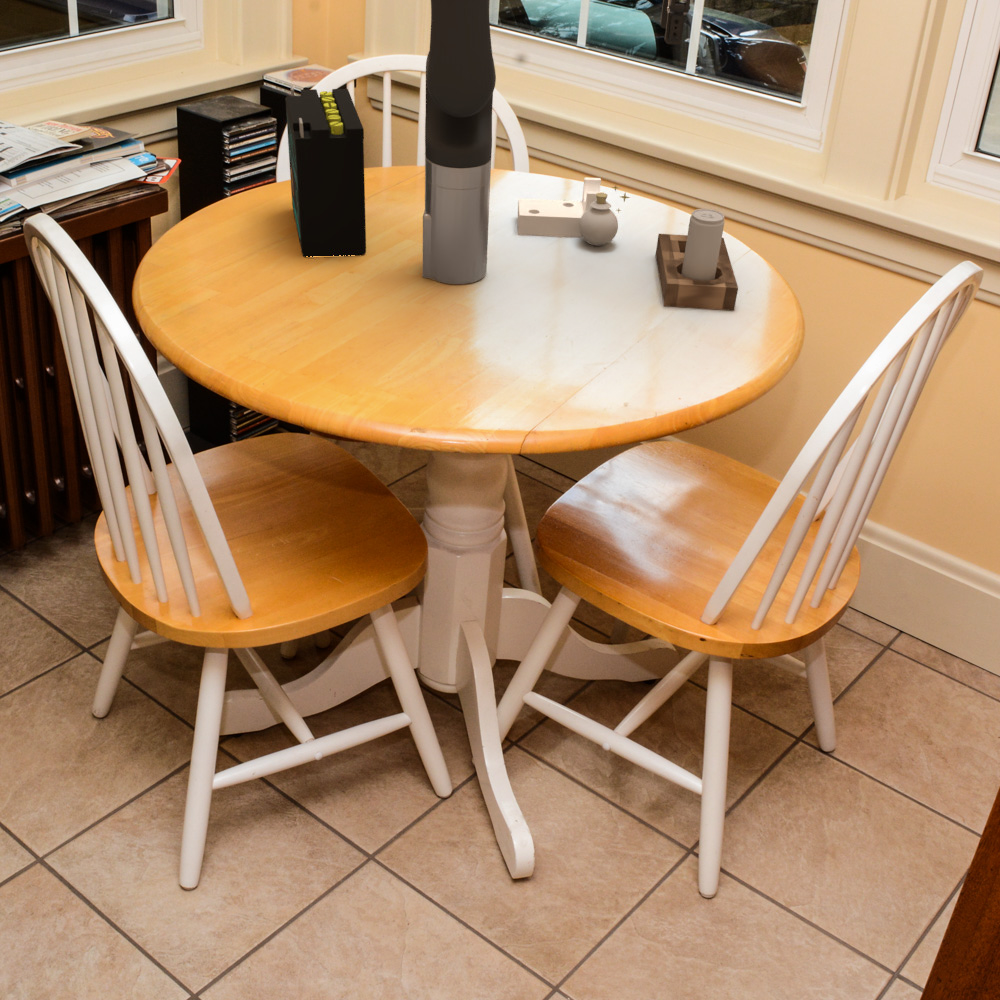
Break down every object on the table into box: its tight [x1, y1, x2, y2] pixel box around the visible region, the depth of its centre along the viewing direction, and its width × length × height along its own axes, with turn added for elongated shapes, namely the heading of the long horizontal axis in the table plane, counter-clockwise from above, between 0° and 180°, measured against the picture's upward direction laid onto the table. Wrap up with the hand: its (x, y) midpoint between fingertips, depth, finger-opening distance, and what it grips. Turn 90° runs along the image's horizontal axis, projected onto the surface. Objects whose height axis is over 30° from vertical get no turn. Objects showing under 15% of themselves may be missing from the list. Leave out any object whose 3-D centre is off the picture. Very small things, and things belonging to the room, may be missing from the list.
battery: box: [284, 84, 367, 258], centre depth 170 cm, size 19×10×20 cm, turn 13°
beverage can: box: [681, 208, 725, 281], centre depth 160 cm, size 5×5×12 cm
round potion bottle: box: [579, 184, 631, 247], centre depth 174 cm, size 6×7×10 cm
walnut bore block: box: [655, 233, 739, 312], centre depth 166 cm, size 10×18×4 cm, turn 178°
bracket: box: [517, 176, 605, 239], centre depth 179 cm, size 13×7×8 cm, turn 91°
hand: (670, 35), depth 153 cm, fingers open, 8 cm apart
